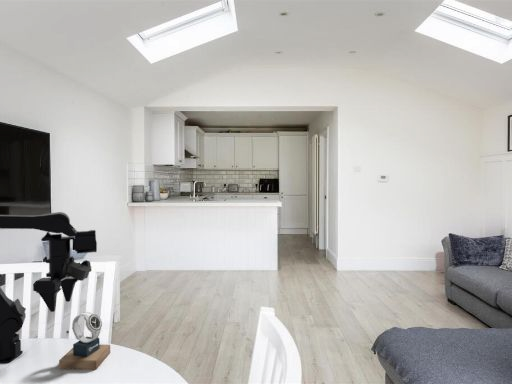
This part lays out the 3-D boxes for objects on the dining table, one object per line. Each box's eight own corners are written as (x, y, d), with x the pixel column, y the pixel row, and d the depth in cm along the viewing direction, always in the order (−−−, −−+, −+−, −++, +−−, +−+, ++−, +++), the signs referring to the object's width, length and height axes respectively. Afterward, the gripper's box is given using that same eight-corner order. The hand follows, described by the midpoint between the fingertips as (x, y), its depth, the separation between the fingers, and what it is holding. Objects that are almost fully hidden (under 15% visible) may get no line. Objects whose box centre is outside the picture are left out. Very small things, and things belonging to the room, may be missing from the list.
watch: (93, 358, 107) (92, 318, 107) (67, 354, 109) (67, 315, 108) (105, 349, 112) (105, 311, 112) (81, 346, 114) (80, 309, 114)
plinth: (59, 369, 106) (59, 360, 106) (76, 352, 116) (76, 344, 116) (96, 369, 106) (96, 360, 106) (110, 352, 116) (110, 344, 116)
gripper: (71, 261, 108) (72, 317, 108) (99, 249, 126) (99, 296, 127) (31, 261, 108) (32, 317, 108) (64, 248, 126) (65, 296, 127)
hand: (60, 306), depth 118 cm, fingers open, 9 cm apart
